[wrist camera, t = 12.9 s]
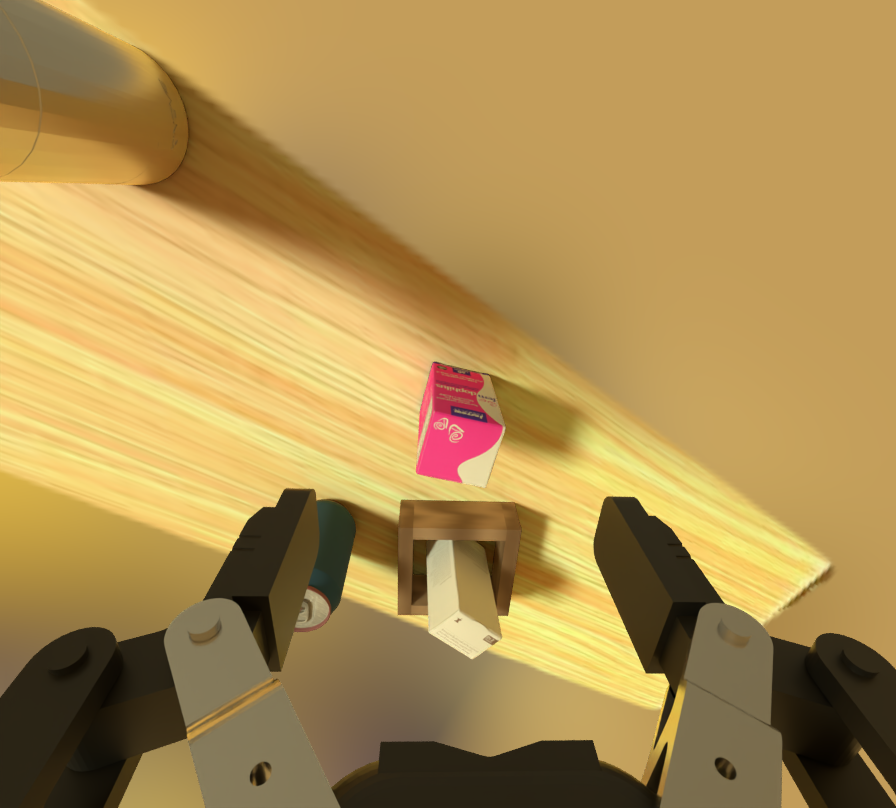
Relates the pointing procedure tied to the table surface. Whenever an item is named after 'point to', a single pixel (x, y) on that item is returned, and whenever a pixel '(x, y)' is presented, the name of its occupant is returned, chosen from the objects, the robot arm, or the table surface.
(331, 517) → the soda can
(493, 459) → the supplement box
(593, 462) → the table surface
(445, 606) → the skincare box
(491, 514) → the brown wooden square frame
